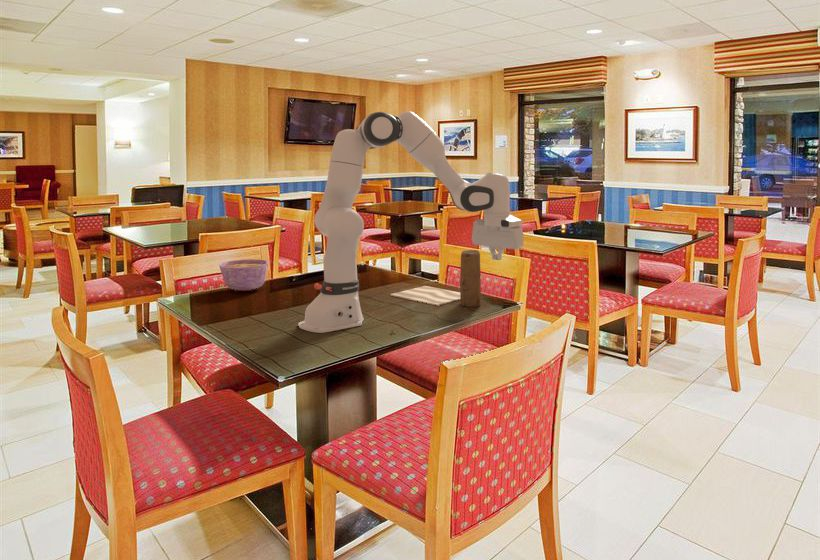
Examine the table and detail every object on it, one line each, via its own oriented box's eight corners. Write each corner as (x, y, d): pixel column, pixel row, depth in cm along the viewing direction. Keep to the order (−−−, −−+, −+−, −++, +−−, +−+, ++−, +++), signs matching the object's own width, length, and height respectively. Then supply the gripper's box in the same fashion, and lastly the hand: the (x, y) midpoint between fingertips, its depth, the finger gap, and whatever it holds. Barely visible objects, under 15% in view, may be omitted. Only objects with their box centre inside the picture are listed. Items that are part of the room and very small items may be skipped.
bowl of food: (280, 288, 264) (278, 261, 261) (245, 297, 247) (242, 269, 245) (247, 283, 274) (245, 257, 272) (211, 292, 258) (208, 265, 255)
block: (481, 307, 224) (481, 253, 219) (460, 307, 224) (459, 253, 220) (480, 300, 234) (480, 248, 230) (460, 300, 235) (460, 248, 231)
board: (438, 306, 227) (438, 304, 227) (390, 295, 245) (390, 294, 245) (473, 296, 241) (473, 294, 241) (425, 287, 259) (425, 285, 259)
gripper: (468, 219, 219) (468, 257, 222) (515, 223, 205) (514, 264, 208) (479, 217, 224) (479, 255, 226) (526, 221, 209) (525, 261, 212)
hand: (496, 259), depth 217 cm, fingers closed
